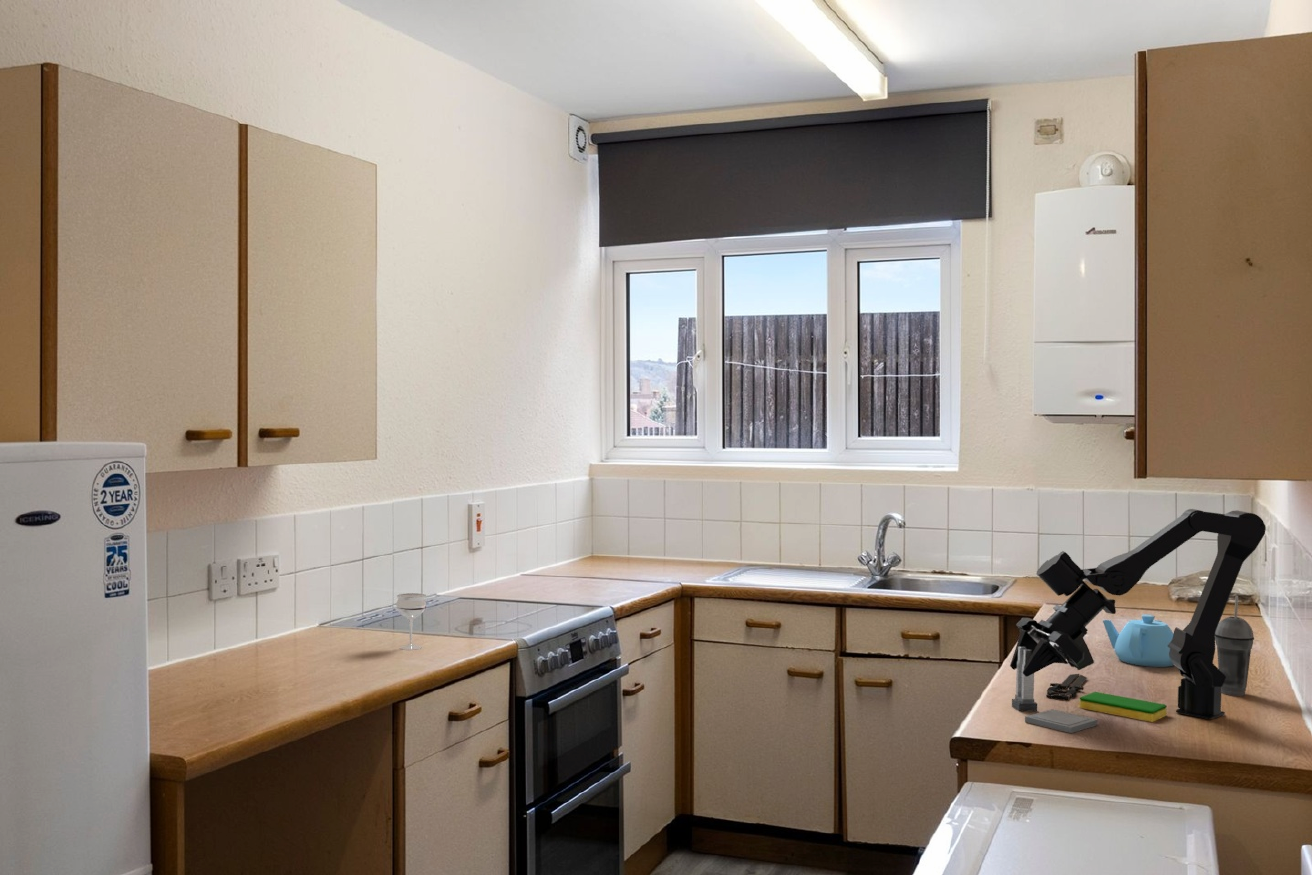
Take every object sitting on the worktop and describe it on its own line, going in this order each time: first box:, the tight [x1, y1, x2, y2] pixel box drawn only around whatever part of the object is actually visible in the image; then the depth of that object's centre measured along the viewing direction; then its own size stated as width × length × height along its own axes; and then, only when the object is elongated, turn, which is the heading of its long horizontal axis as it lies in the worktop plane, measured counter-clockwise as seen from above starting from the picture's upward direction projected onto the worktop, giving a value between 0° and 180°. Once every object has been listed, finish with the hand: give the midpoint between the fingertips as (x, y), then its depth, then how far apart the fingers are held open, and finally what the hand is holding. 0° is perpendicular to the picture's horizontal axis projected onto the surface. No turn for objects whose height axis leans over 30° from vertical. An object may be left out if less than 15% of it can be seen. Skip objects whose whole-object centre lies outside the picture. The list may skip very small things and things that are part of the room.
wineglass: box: [395, 592, 427, 651], centre depth 260 cm, size 7×7×12 cm
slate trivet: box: [1024, 708, 1099, 734], centre depth 204 cm, size 9×9×1 cm
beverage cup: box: [1215, 595, 1255, 697], centre depth 230 cm, size 7×7×20 cm
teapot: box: [1102, 614, 1175, 668], centre depth 260 cm, size 15×15×11 cm
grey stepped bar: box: [1011, 647, 1038, 712], centre depth 214 cm, size 4×4×12 cm
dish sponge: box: [1078, 691, 1167, 723], centre depth 214 cm, size 7×14×2 cm, turn 46°
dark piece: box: [1045, 673, 1088, 701], centre depth 233 cm, size 25×6×1 cm, turn 145°
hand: (1018, 671), depth 214 cm, fingers open, 6 cm apart
